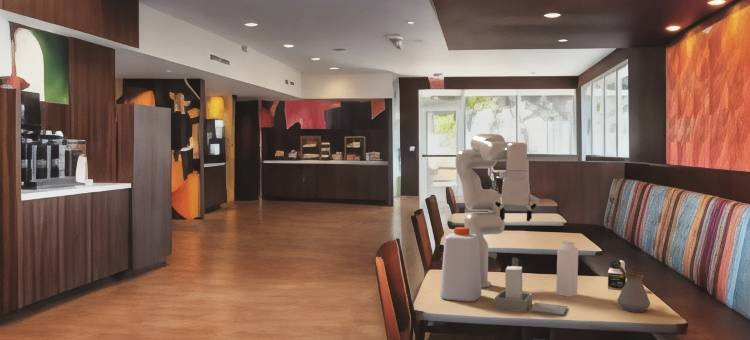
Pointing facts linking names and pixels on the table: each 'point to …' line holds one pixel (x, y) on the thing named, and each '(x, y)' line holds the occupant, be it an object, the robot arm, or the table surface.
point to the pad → (548, 309)
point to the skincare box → (513, 282)
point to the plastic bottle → (461, 267)
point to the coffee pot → (633, 293)
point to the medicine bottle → (616, 275)
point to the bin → (513, 302)
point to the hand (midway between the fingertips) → (515, 220)
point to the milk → (567, 269)
